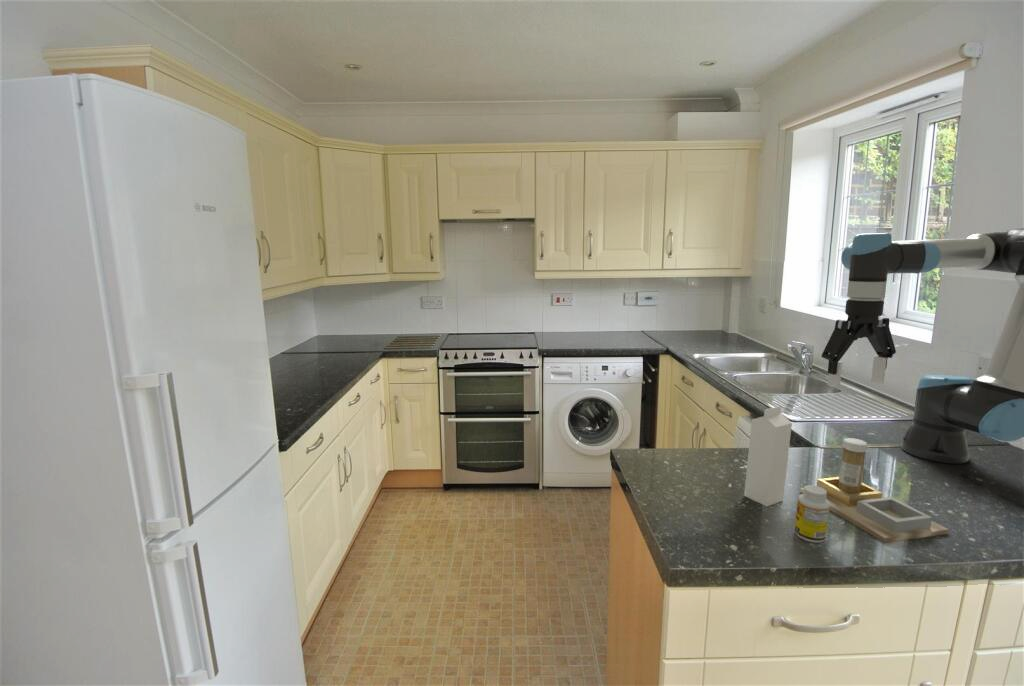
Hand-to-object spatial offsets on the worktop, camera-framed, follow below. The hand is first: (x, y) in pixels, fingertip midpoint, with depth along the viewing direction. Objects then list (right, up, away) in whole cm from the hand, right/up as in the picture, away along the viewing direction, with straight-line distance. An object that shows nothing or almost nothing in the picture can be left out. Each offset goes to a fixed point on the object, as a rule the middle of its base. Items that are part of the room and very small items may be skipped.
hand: (855, 384), depth 126 cm
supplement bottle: (-25, -29, -23) cm, 45 cm away
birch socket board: (-6, -27, -13) cm, 31 cm away
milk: (-26, -26, -7) cm, 38 cm away
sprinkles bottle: (-7, -25, -7) cm, 27 cm away
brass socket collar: (-7, -26, -7) cm, 28 cm away
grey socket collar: (-4, -28, -18) cm, 34 cm away
